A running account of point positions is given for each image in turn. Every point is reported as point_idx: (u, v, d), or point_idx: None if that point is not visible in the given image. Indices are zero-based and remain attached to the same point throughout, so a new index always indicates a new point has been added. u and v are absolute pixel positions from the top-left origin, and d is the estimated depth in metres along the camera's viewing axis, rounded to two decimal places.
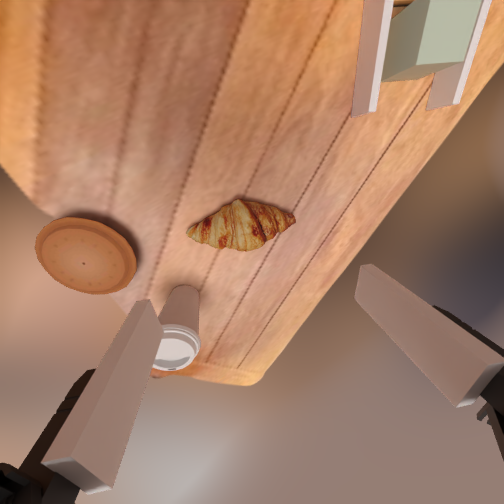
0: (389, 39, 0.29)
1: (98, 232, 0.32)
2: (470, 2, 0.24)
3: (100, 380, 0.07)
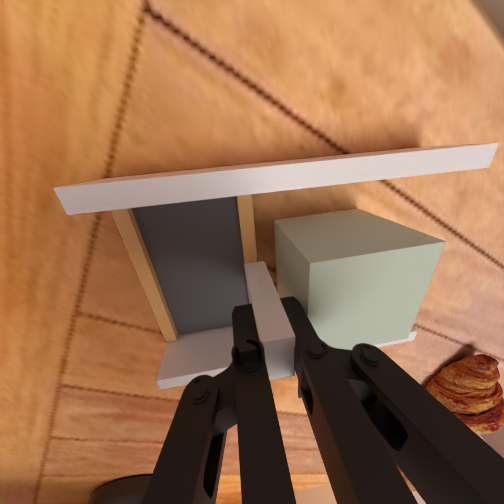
0: None
1: (405, 478, 0.39)
2: (338, 283, 0.10)
3: (261, 306, 0.10)
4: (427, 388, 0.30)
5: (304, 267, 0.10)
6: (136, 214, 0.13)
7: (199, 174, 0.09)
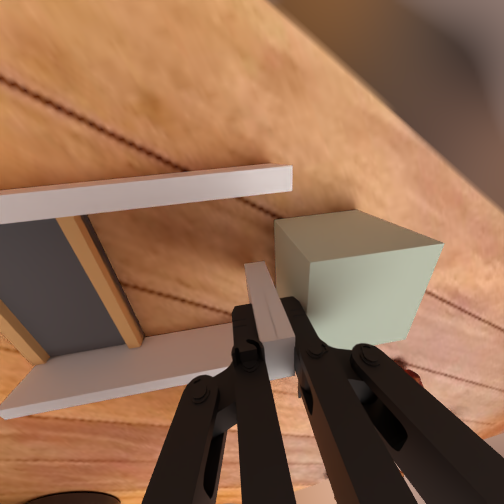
0: None
1: None
2: (337, 283, 0.10)
3: (261, 306, 0.10)
4: None
5: (304, 266, 0.10)
6: None
7: None
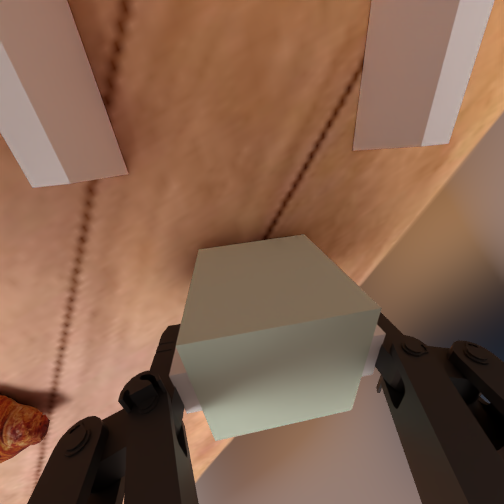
0: None
1: None
2: (336, 345, 0.07)
3: None
4: None
5: (355, 299, 0.07)
6: None
7: None
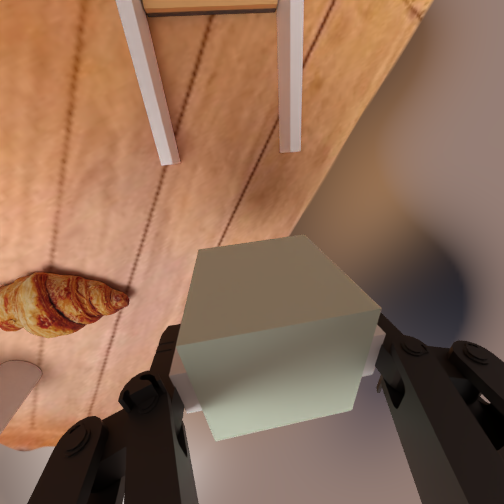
0: None
1: None
2: (336, 345, 0.07)
3: None
4: (63, 275, 0.28)
5: (355, 300, 0.07)
6: None
7: None
